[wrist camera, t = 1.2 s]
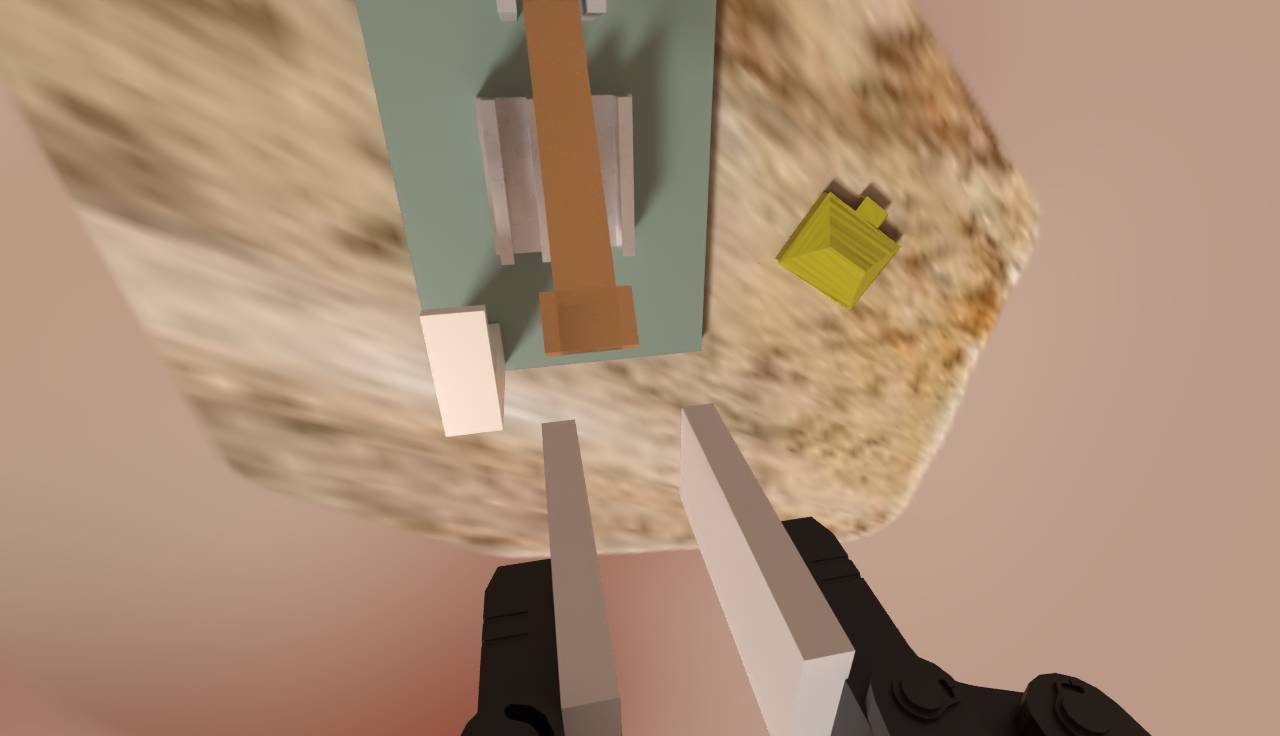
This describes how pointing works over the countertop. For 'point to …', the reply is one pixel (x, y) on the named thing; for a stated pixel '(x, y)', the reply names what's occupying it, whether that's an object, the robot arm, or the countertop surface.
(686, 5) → the board
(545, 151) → the strap
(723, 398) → the countertop surface
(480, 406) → the cream l-shaped bracket
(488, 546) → the countertop surface
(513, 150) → the heatsink
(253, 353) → the countertop surface
